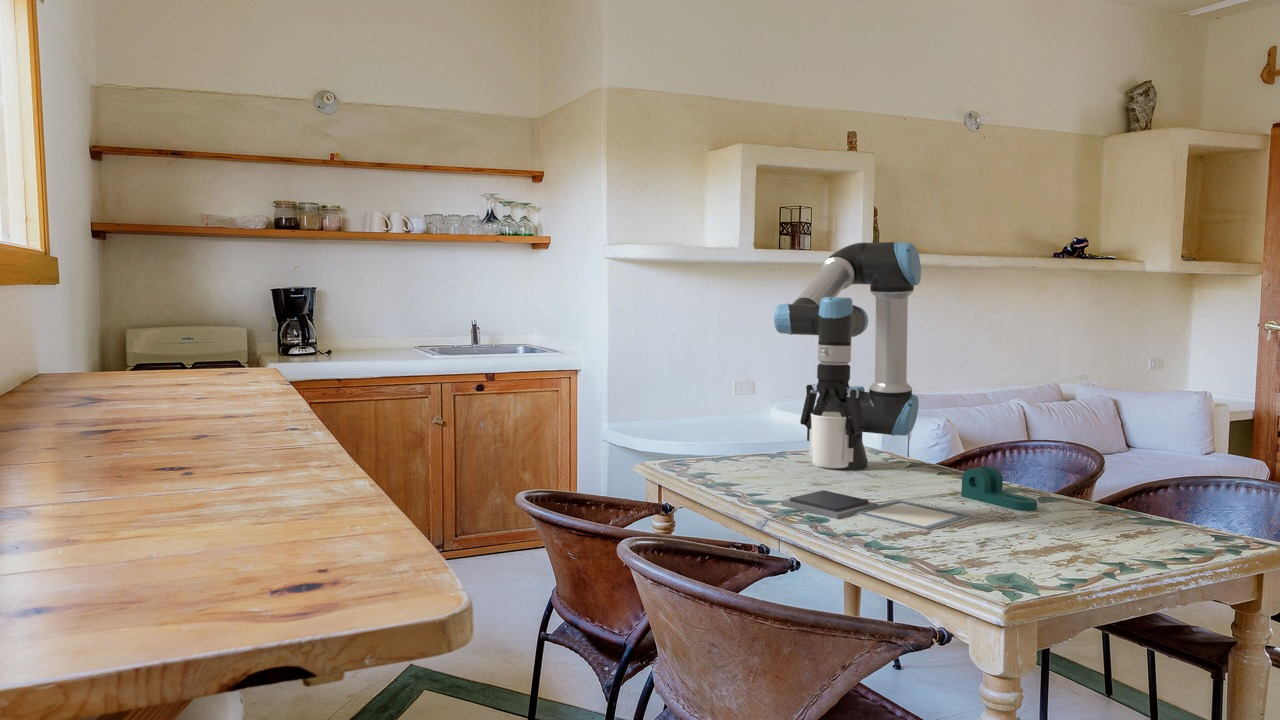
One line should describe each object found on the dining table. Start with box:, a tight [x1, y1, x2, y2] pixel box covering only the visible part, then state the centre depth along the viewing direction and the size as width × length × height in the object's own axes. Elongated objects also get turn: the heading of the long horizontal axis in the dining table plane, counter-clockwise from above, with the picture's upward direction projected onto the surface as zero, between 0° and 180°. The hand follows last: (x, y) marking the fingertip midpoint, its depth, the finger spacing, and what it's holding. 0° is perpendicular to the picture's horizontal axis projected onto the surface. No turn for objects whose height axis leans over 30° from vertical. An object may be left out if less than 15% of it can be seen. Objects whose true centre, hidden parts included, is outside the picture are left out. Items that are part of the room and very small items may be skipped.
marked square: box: [853, 499, 973, 532], centre depth 202 cm, size 19×19×1 cm
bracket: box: [960, 465, 1038, 512], centre depth 216 cm, size 18×7×8 cm, turn 31°
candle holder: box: [811, 412, 850, 469], centre depth 208 cm, size 10×10×12 cm
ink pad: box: [780, 490, 878, 519], centre depth 209 cm, size 16×16×2 cm
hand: (830, 458), depth 208 cm, fingers closed on candle holder, 9 cm apart
